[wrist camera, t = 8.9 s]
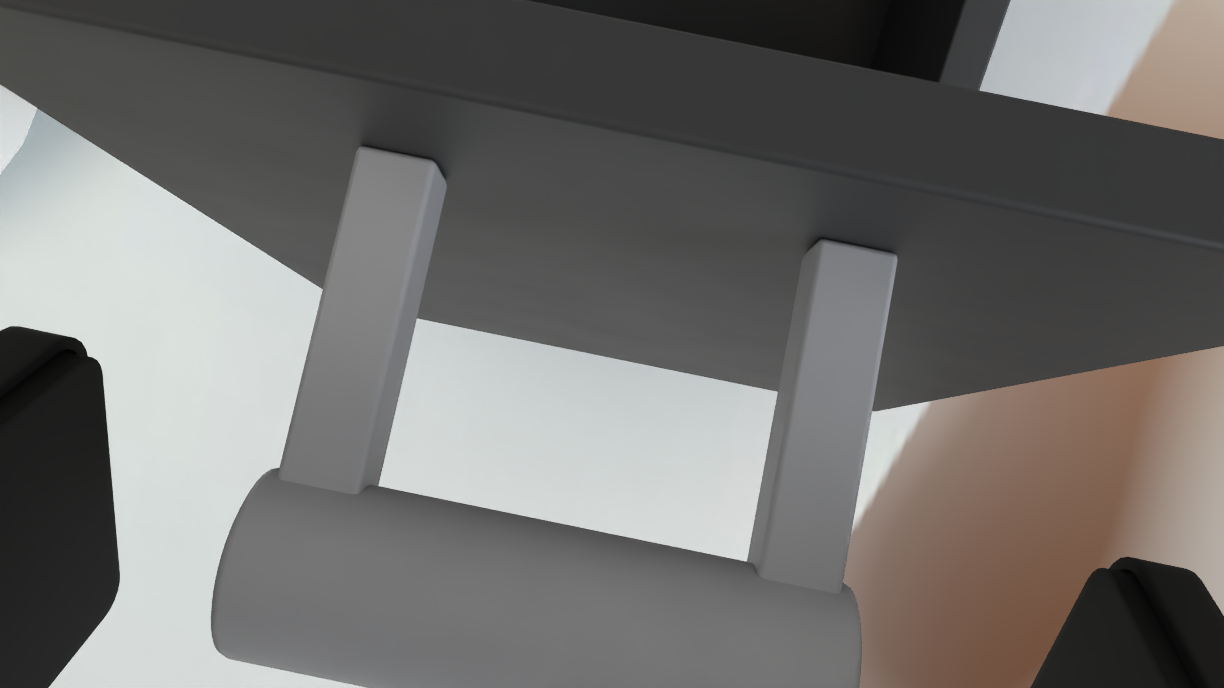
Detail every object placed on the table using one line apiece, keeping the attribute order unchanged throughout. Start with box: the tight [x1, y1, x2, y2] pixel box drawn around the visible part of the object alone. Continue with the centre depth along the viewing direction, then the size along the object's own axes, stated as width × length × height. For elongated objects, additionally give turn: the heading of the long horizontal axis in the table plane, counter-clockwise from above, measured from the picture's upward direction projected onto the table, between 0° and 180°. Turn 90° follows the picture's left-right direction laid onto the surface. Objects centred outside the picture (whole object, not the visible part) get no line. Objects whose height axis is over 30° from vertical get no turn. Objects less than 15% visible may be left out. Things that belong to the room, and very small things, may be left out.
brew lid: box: [0, 0, 1224, 688], centre depth 14 cm, size 14×12×5 cm
